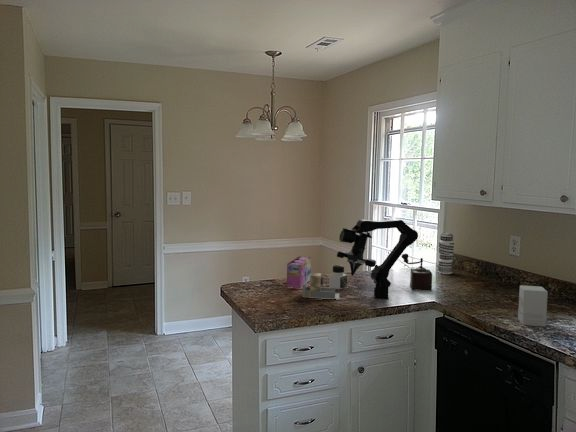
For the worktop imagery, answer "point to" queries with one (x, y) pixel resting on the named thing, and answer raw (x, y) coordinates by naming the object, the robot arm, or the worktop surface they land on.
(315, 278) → the beige cube with disc
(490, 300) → the worktop surface
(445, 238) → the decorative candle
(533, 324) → the supplement box
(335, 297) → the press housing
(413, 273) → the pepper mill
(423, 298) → the worktop surface
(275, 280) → the worktop surface
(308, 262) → the gum box
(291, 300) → the worktop surface
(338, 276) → the medicine bottle
